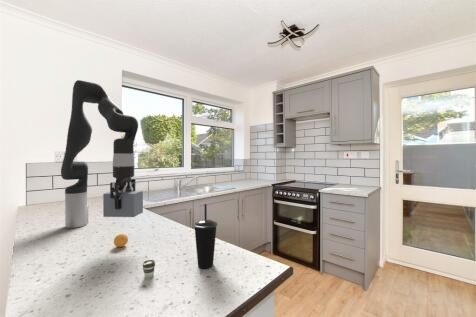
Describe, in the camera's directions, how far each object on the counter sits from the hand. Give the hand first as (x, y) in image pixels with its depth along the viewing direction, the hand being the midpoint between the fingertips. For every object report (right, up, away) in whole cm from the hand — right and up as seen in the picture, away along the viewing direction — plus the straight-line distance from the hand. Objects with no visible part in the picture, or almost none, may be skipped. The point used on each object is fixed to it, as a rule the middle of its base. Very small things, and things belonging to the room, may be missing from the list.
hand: (123, 206), depth 86 cm
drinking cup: (+35, -16, -15) cm, 41 cm away
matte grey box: (0, -3, 0) cm, 3 cm away
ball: (-1, -13, 0) cm, 13 cm away
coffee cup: (+19, -17, -22) cm, 33 cm away
